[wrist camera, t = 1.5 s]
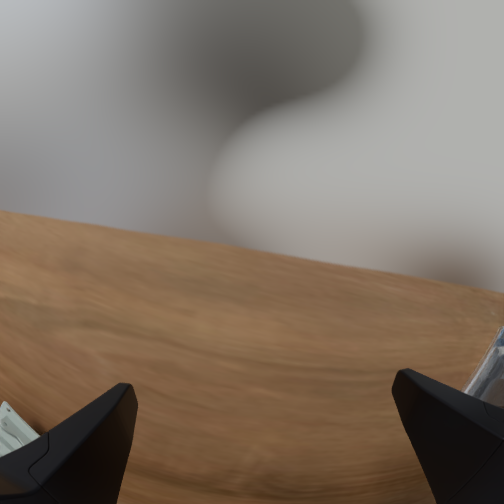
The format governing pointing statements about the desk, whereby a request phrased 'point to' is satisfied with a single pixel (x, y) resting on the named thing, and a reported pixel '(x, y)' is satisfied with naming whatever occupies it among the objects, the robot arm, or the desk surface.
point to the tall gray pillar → (494, 386)
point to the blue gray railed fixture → (486, 364)
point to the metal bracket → (13, 430)
